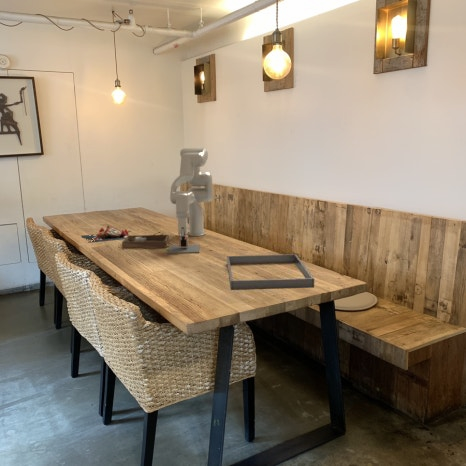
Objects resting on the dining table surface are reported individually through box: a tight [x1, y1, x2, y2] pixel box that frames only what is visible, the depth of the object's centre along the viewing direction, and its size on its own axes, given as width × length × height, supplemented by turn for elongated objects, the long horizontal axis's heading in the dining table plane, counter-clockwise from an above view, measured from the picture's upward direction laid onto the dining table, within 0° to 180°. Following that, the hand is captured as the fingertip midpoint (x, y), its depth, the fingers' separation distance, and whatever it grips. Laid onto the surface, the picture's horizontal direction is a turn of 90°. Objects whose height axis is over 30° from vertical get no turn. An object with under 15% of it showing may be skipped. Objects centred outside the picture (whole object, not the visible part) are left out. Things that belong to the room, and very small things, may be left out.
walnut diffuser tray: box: [121, 234, 170, 250], centre depth 286 cm, size 19×26×4 cm
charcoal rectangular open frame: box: [226, 253, 315, 291], centre depth 220 cm, size 43×36×4 cm
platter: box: [80, 225, 137, 244], centre depth 311 cm, size 35×27×9 cm
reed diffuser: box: [134, 231, 166, 242], centre depth 289 cm, size 10×7×20 cm
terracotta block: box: [178, 234, 189, 247], centre depth 271 cm, size 5×5×6 cm
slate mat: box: [166, 244, 201, 255], centre depth 272 cm, size 18×18×1 cm
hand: (183, 244), depth 272 cm, fingers closed on terracotta block, 4 cm apart
